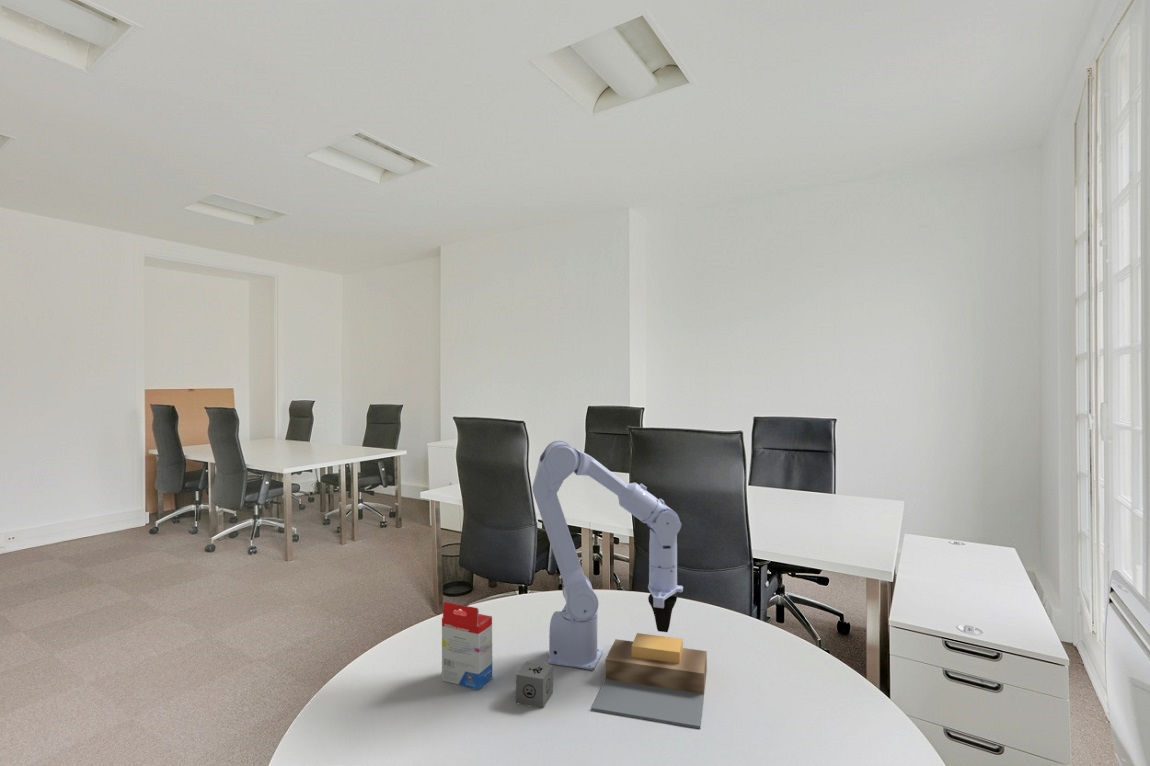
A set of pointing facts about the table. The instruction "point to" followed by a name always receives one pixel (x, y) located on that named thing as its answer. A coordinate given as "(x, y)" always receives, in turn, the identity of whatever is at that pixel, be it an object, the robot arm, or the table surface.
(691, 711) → the mat
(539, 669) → the dice cube
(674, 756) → the table surface
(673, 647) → the yellow orange block
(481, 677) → the ink box
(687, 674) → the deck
